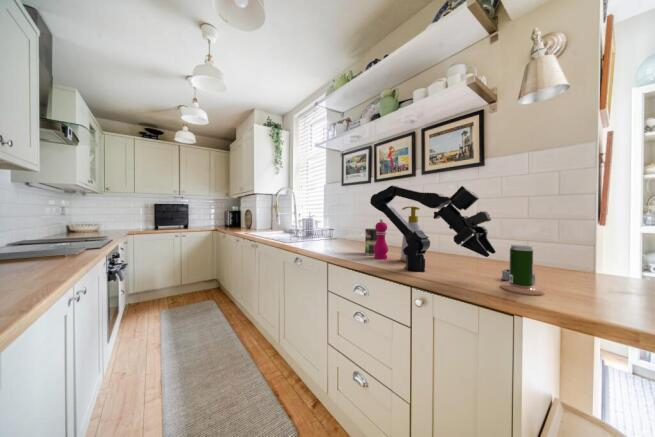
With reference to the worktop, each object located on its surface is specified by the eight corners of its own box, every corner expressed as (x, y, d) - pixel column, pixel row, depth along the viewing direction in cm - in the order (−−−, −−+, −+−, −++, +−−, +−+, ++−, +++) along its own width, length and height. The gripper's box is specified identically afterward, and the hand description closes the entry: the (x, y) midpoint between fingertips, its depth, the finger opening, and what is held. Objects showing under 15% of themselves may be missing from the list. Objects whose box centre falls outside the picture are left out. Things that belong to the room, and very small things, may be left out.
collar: (513, 283, 75) (514, 274, 75) (497, 277, 83) (497, 268, 83) (541, 284, 74) (541, 275, 74) (521, 278, 82) (522, 269, 82)
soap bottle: (395, 259, 115) (395, 206, 114) (414, 258, 118) (415, 207, 118) (409, 264, 104) (410, 205, 104) (430, 263, 107) (431, 206, 107)
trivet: (515, 294, 65) (515, 290, 65) (493, 284, 75) (493, 280, 75) (554, 296, 64) (554, 292, 64) (526, 285, 74) (526, 282, 74)
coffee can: (369, 256, 124) (369, 229, 124) (362, 252, 134) (362, 228, 134) (386, 255, 126) (387, 229, 126) (378, 252, 136) (378, 228, 136)
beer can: (517, 288, 67) (517, 247, 67) (505, 283, 72) (505, 244, 72) (537, 289, 66) (538, 247, 66) (523, 283, 72) (524, 245, 72)
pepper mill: (388, 259, 114) (389, 219, 114) (373, 259, 115) (374, 219, 115) (387, 257, 121) (388, 219, 121) (373, 256, 122) (374, 218, 122)
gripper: (465, 201, 72) (509, 240, 64) (481, 204, 85) (519, 236, 77) (438, 226, 77) (475, 264, 70) (456, 224, 90) (490, 256, 83)
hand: (491, 254), depth 75 cm, fingers open, 9 cm apart
